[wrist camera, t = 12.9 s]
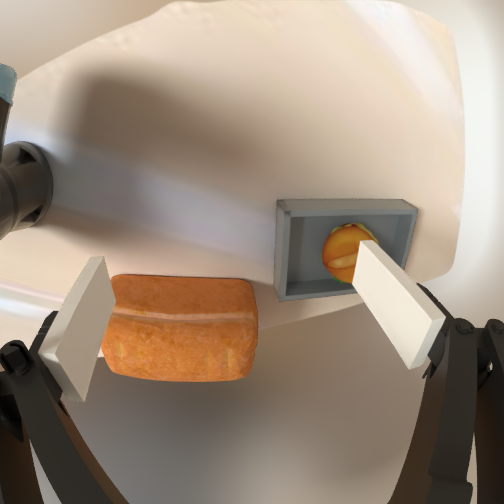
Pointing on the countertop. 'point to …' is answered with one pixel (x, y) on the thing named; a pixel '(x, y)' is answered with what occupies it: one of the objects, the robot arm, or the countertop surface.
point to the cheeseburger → (344, 250)
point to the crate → (316, 232)
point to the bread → (181, 328)
